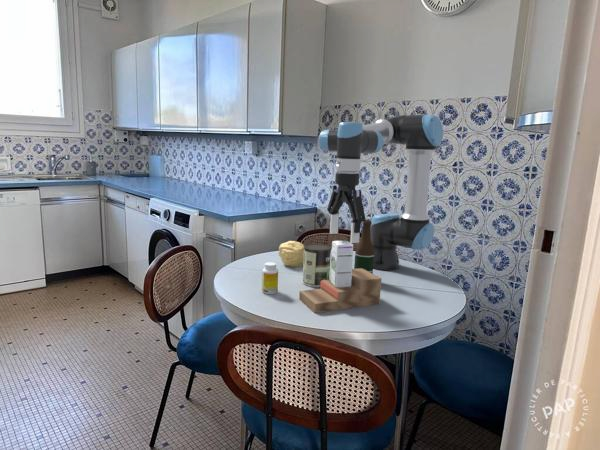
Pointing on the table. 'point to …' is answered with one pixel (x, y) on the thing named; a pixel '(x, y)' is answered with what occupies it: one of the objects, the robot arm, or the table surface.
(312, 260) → the coffee can
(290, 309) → the table surface
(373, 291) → the stepped stand
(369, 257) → the beer bottle
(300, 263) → the sculpture
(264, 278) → the supplement bottle
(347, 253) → the syrup box
